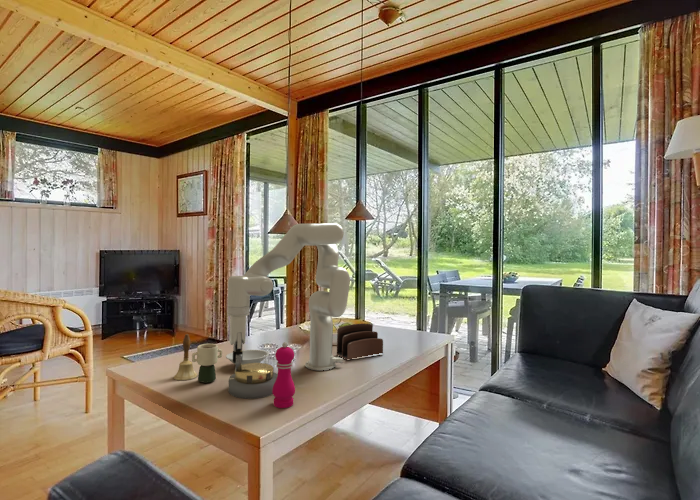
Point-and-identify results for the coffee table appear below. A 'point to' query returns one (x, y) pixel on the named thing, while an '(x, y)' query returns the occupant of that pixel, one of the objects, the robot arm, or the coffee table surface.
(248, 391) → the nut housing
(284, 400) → the pepper mill
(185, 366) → the hand bell
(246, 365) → the ring nut
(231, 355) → the dish
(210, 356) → the character mug
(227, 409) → the coffee table surface
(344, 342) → the letter holder
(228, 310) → the robot arm
